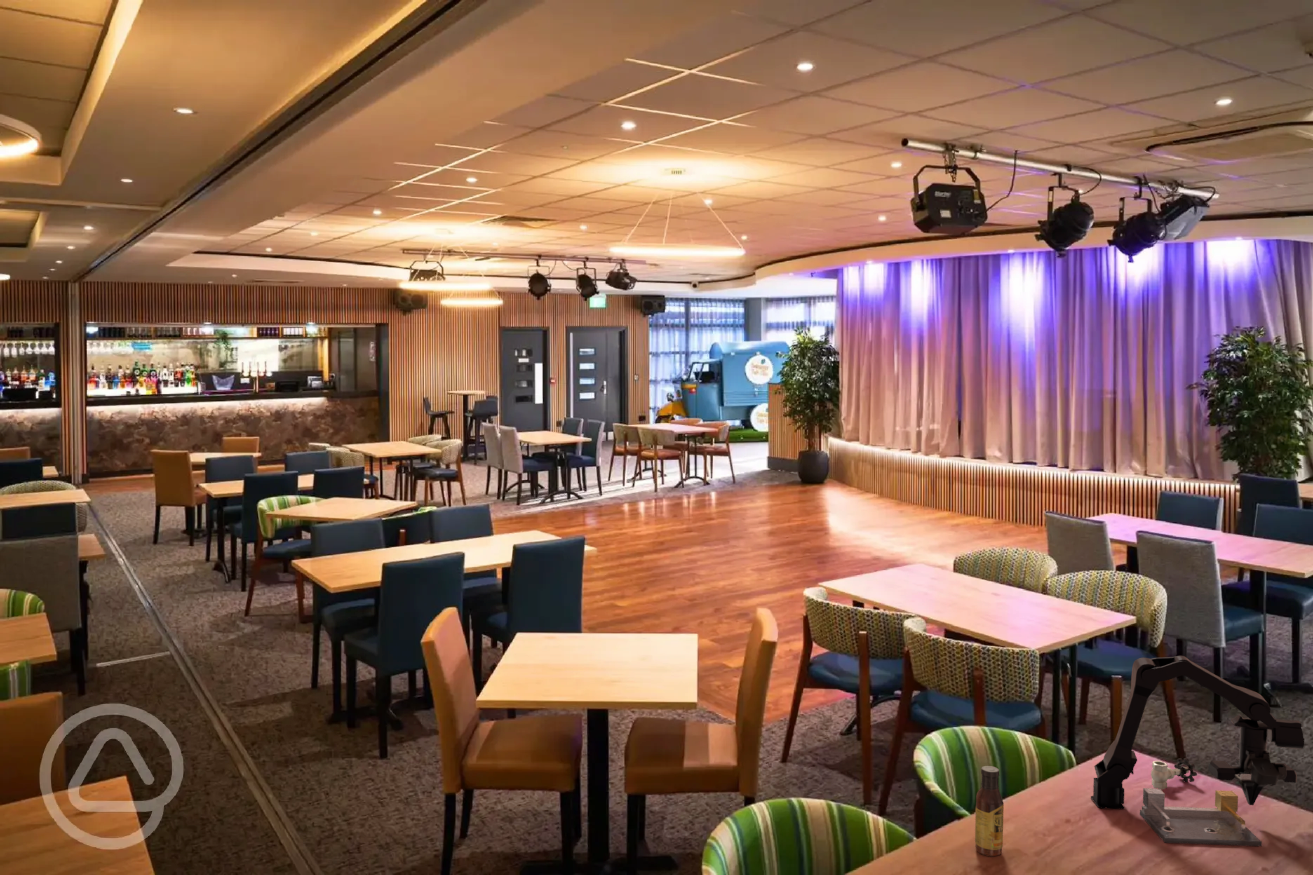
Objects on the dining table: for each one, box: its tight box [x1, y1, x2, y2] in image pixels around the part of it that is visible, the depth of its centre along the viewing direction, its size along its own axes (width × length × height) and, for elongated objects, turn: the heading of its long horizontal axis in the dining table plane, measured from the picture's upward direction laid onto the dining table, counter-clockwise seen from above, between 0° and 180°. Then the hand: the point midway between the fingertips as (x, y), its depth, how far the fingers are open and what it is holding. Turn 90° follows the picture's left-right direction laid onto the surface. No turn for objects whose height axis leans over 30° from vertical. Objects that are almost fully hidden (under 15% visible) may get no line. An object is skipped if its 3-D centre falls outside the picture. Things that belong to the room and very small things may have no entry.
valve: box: [1150, 757, 1198, 790], centre depth 263 cm, size 7×7×12 cm
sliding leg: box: [1214, 790, 1246, 832], centre depth 238 cm, size 4×10×6 cm, turn 174°
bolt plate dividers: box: [1139, 787, 1263, 847], centre depth 237 cm, size 22×15×7 cm
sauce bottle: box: [974, 765, 1004, 857], centre depth 227 cm, size 7×6×20 cm
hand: (1250, 804), depth 241 cm, fingers closed
